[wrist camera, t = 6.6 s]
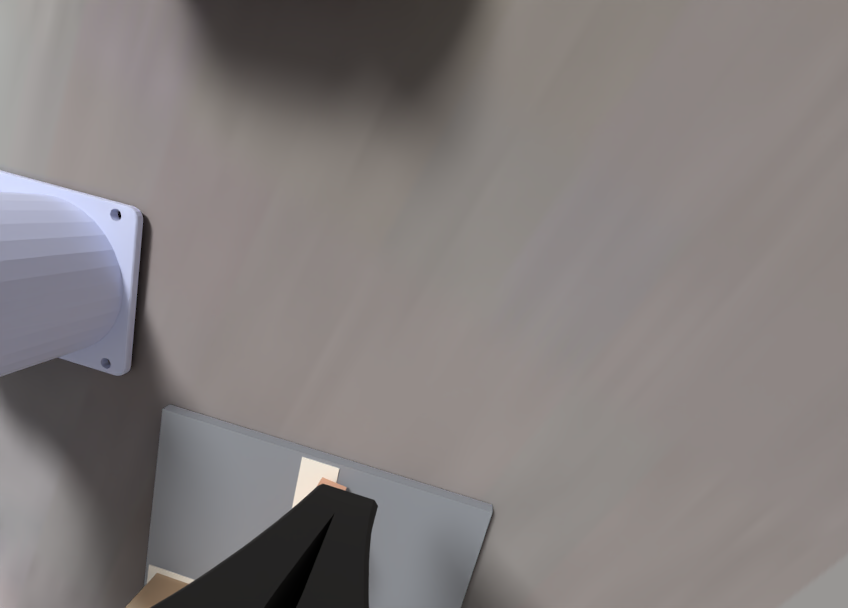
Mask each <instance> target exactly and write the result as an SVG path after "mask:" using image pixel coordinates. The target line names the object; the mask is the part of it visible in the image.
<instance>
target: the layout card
mask: <svg viewBox="0 0 848 608" xmlns="http://www.w3.org/2000/svg"><path fill="white" fill-rule="evenodd" d="M322 477H323V478H325V479H328V480H330V481H333V482H335V483H338V484H340V485H343V486H345V487H347V488H346V491H348V492H351V493H354V494H358V495H361V496H364V497H367V498H370V499H373V500H375V501H376V503H377V505H378V508H377V512H376V516H375V520H374V524H373V528H372V533H371V543H370V555H369V608H461V606H462V603H463V600H464V597H465V594H466V591H467V588H468V585H469V582H470V579H471V576H472V573H473V570H474V567H475V564H476V561H477V558H478V555H479V552H480V549H481V546H482V543H483V540H484V537H485V534H486V530H487V527H488V524H489V521H490V518H491V515H492V512H493V508H492V504H488V503H485V502H482V501H479V500H476V499H472V498H469V497H466V496H463V495H460V494H456V493H453V492H450V491H447V490H444V489H440V488H437V487H434V486H431V485H427V484H424V483H421V482H418V481H415V480H411V479H408V478H405V477H402V476H399V475H395V474H392V473H389V472H386V471H382V470H379V469H376V468H373V467H370V466H366V465H363V464H360V463H357V462H354V461H350V460H347V459H344V458H341V457H338V456H334V455H331V454H328V453H325V452H321V451H318V450H315V449H312V448H309V447H305V446H302V445H299V444H296V443H293V442H289V441H286V440H283V439H280V438H276V437H273V436H270V435H267V434H264V433H260V432H257V431H254V430H251V429H248V428H244V427H241V426H238V425H235V424H232V423H228V422H225V421H222V420H219V419H215V418H212V417H209V416H206V415H203V414H199V413H196V412H193V411H190V410H187V409H183V408H180V407H177V406H174V405H168V406H167V407H165V408H163V409H162V418H161V428H160V437H159V447H158V456H157V465H156V475H155V484H154V494H153V503H152V513H151V522H150V532H149V541H148V551H147V560H146V570H145V579H144V586H145V585H146V584H147V583H148V582H149V581H150V580H151V579H152V578H153V577H154V575H155V574H156V573H159V574H162V575H165V576H168V577H171V578H173V579H176V580H179V581H182V582H185V583H188V584H190V583H191V582H193V581H194V580H196V579H197V578H199V577H200V576H202V575H203V574H205V573H206V572H208V571H209V570H211V569H212V568H214V567H215V566H217V565H218V564H219V563H221V562H222V561H224V560H225V559H227V558H228V557H229V556H231V555H232V554H234V553H235V552H237V551H238V550H239V549H241V548H242V547H244V546H245V545H246V544H248V543H249V542H250V541H252V540H253V539H254V538H256V537H257V536H258V535H259V534H261V533H262V532H263V531H265V530H266V529H267V528H269V527H270V526H271V525H272V524H274V523H275V522H276V521H278V520H279V519H280V518H281V517H282V516H284V515H285V514H286V513H287V512H288V511H290V510H291V509H292V508H293V507H294V506H296V505H297V504H298V503H299V502H300V501H301V500H303V499H304V498H305V497H306V496H307V495H308V494H309V493H310V492H311V491H313V490H314V489H315V488H316V487H317V485H318V483H319V482H320V480H321V479H322Z"/></svg>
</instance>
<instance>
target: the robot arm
mask: <svg viewBox="0 0 848 608" xmlns="http://www.w3.org/2000/svg"><path fill="white" fill-rule="evenodd" d="M118 211H120V213H121V219H120V218H119V217H118ZM142 228H143V215H142V213H141V211H140V210H139V209H138V208H136V207H134V206H131V205H127V204H123V203H120V202H116V201H112V200H108V199H105V198H101V197H97V196H94V195H90V194H86V193H83V192H79V191H75V190H71V189H68V188H64V187H60V186H57V185H53V184H49V183H46V182H42V181H38V180H34V179H31V178H27V177H23V176H20V175H16V174H12V173H9V172H5V171H1V170H0V377H1V376H4V375H7V374H10V373H13V372H16V371H19V370H22V369H25V368H28V367H31V366H34V365H37V364H40V363H43V362H46V361H49V360H51V359H54V358H60V359H64V360H67V361H70V362H73V363H76V364H80V365H83V366H86V367H89V368H93V369H96V370H99V371H102V372H106V373H109V374H112V375H115V376H120V375H123V374H125V373H128V372H129V370H130V368H131V360H132V348H133V336H134V324H135V312H136V300H137V288H138V276H139V264H140V252H141V240H142ZM108 360H109V361H110V363H111V364H110V363H109V362H108ZM377 508H378V505H377V503H376V501H375V500H373V499H370V498H367V497H364V496H361V495H358V494H354V493H351V492H348V491H345V490H342V489H339V488H336V487H332V486H329V485H326V484H321V485H319V486H317V487H316V488H315V489H314V490H313V491H311V492H310V493H309V494H308V495H307V496H306V497H305V498H304V499H303V500H301V501H300V502H299V503H298V504H297V505H296V506H294V507H293V508H292V509H291V510H290V511H288V512H287V513H286V514H285V515H284V516H282V517H281V518H280V519H279V520H278V521H276V522H275V523H274V524H272V525H271V526H270V527H269V528H267V529H266V530H265V531H263V532H262V533H261V534H259V535H258V536H257V537H256V538H254V539H253V540H252V541H250V542H249V543H248V544H246V545H245V546H244V547H242V548H241V549H239V550H238V551H237V552H235V553H234V554H232V555H231V556H229V557H228V558H227V559H225V560H224V561H222V562H221V563H219V564H218V565H217V566H215V567H214V568H212V569H211V570H209V571H208V572H206V573H205V574H203V575H202V576H200V577H199V578H197V579H196V580H194V581H193V582H191V583H190V584H188V585H186V586H185V587H183V588H182V589H180V590H178V591H177V592H175V593H174V594H172V595H170V596H169V597H167V598H165V599H164V600H162V601H160V602H158V603H157V604H155V605H153V606H152V607H150V608H369V555H370V543H371V533H372V528H373V524H374V520H375V516H376V512H377Z"/></svg>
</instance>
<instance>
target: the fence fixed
mask: <svg viewBox="0 0 848 608" xmlns="http://www.w3.org/2000/svg"><path fill="white" fill-rule="evenodd" d="M186 585H188V583H185V582H182V581H179V580H176V579H173V578H171V577H168V576H165V575H162V574H159V573H156V574H155V575H154V577H153V578H152V579H151V580H150V581H149V582H148V583H147V584H146V585H145V586H144V587H143V589H142V590H141V591H140V592H139V593H138V594H137V595H136V596H135V597H134V598H133V599H132V601H131V602H130V603H129V604H128V605H127V606H126V607H125V608H150V607H152V606H153V605H155V604H157V603H158V602H160V601H162V600H164V599H165V598H167V597H169V596H170V595H172V594H174V593H175V592H177V591H178V590H180V589H182V588H183V587H185V586H186Z"/></svg>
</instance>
